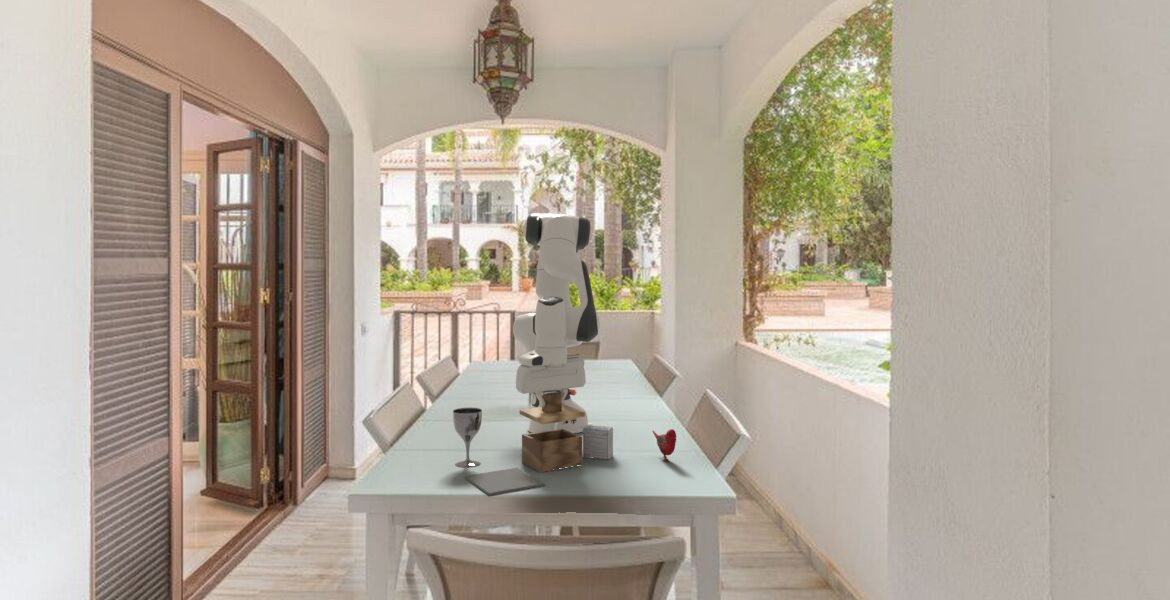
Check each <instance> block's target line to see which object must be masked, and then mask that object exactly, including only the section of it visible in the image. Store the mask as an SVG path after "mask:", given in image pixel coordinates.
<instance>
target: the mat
mask: <svg viewBox="0 0 1170 600" xmlns="http://www.w3.org/2000/svg"><path fill="white" fill-rule="evenodd" d="M464 479H466V480H467V481H468V482H470V483H471V484H472V485H474V486H475V487H476V488H477V489H479V490H481V491H482V492H484V493H485V494H486V495H488V496H493V495H499V494H506V493H511V492H517V491H523V490H528V488H529V489H534V488H533V487H535V488H539V487H538V486H540V487H544V485H545V482H543V481H541V480H539V479H538V478H536V477H534V476H532V475H531V474H529V473H528V472H526V471H524V470H522V469H520V468H519V467H512V468H505V469H501V470H500V469H499V470H494V471H486V472H481V473H475V474H467V475H464ZM545 486H546V485H545Z"/></svg>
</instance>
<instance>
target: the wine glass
mask: <svg viewBox="0 0 1170 600" xmlns="http://www.w3.org/2000/svg"><path fill="white" fill-rule="evenodd" d="M452 421H453V426H454V431H455V432H456V433H457V435H458V436H459V438H461V439H462V441H463V442H464V445H465V451H466V452H465V454H466V457H465V460H460V461H457V462H455V463H454V466H455V467H458V468H463V469H464V468H476V467H478V466H480V465H481V464H482V463H481V461H478V460H474V459H473V460H471V459H470V448H471V443H472V441H473V439H474V438H475V437H476V435H477V434H478V433H479V432H480V430H481V425H482V421H483V410H482V408H479V407H460V408H455V409H453V410H452Z"/></svg>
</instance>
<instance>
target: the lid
mask: <svg viewBox="0 0 1170 600" xmlns="http://www.w3.org/2000/svg"><path fill="white" fill-rule="evenodd" d="M542 398H543V400H545V401H547V407H543V408H541V407H538V408H532V407H531V408H524V409H519V415H521V416H522V417H525V418H527V419H531V420H533V421H536V422H538V423H540V424H549V423H556V422H563V421H570V420H576V418H578V417H585V412H583V411H580V410H578V409H575V408H572V407H570V406H567V405H565V404H564V405H562V394H561V393H558V392H556V391H552V392H544V393H543V395H542Z"/></svg>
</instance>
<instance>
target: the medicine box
mask: <svg viewBox="0 0 1170 600" xmlns="http://www.w3.org/2000/svg"><path fill="white" fill-rule="evenodd" d="M593 425H594V424H593ZM593 425H588V426H586V427H584V428H583V432H582V458H584V457H593V458H592V459H596V458H601V459H600V460H607V459H609V460H610V459H611V458H612V457H613V456H614V427H613V426H605V425H594V426H593Z"/></svg>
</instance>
